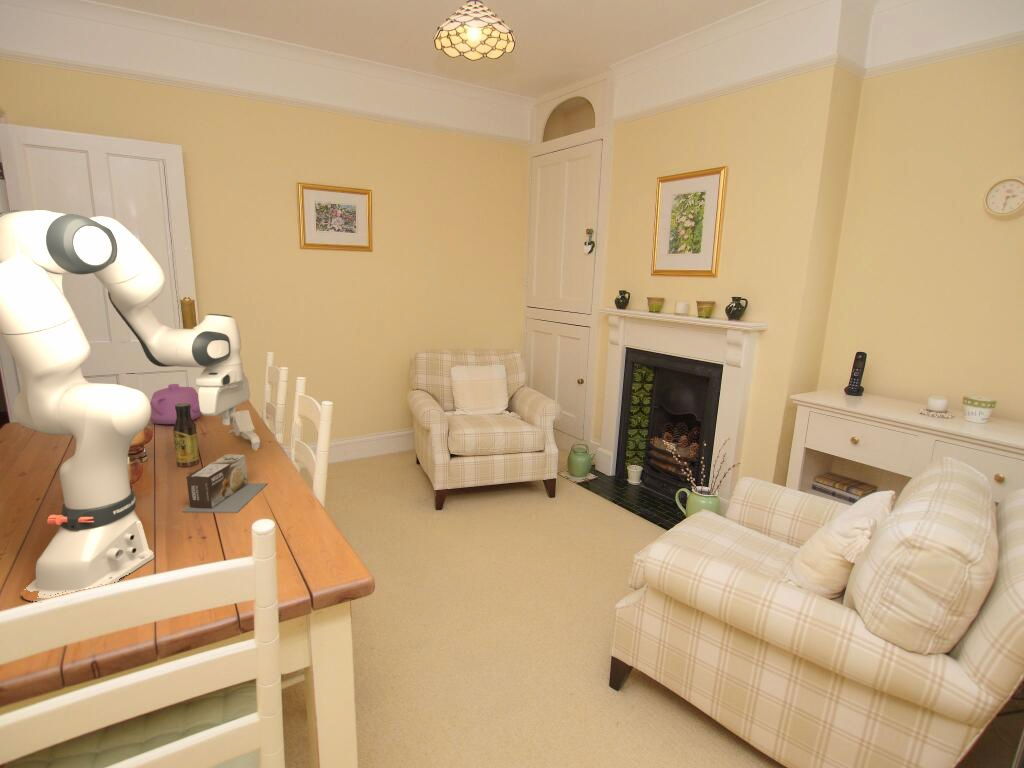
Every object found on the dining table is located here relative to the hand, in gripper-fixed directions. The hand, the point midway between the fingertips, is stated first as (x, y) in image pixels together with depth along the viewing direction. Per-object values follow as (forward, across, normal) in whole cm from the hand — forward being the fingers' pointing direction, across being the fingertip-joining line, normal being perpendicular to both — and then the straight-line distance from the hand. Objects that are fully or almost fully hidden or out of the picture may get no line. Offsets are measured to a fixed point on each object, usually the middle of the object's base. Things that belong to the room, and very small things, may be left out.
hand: (228, 423), depth 144 cm
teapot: (+18, -67, -54) cm, 88 cm away
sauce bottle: (+20, -20, -24) cm, 37 cm away
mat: (+20, +4, 0) cm, 20 cm away
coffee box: (+15, -4, -1) cm, 16 cm away
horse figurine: (+19, -43, -17) cm, 50 cm away
